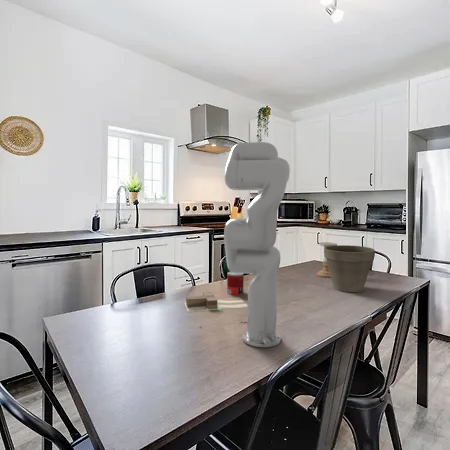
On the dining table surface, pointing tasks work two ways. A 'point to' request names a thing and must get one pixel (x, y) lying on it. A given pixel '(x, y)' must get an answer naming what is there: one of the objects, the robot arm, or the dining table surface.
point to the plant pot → (349, 266)
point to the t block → (202, 301)
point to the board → (224, 304)
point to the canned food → (235, 283)
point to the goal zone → (206, 307)
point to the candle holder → (325, 262)
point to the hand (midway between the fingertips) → (266, 241)
